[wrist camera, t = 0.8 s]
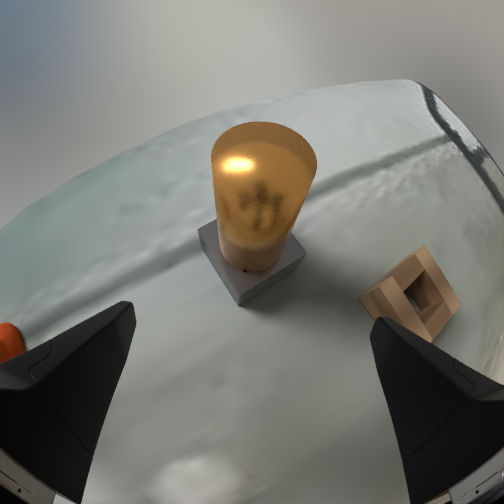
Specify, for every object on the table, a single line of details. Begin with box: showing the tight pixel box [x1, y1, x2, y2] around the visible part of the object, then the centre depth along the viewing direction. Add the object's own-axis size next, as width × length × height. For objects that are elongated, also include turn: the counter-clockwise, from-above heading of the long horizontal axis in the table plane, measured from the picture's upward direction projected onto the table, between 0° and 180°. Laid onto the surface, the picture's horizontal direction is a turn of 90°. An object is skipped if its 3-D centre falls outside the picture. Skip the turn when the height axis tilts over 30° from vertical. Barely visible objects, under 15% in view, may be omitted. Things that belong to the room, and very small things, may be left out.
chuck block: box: [197, 219, 306, 306], centre depth 22 cm, size 6×6×4 cm
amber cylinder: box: [211, 122, 317, 272], centre depth 18 cm, size 5×5×13 cm
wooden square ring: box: [359, 245, 461, 343], centre depth 22 cm, size 7×7×4 cm
